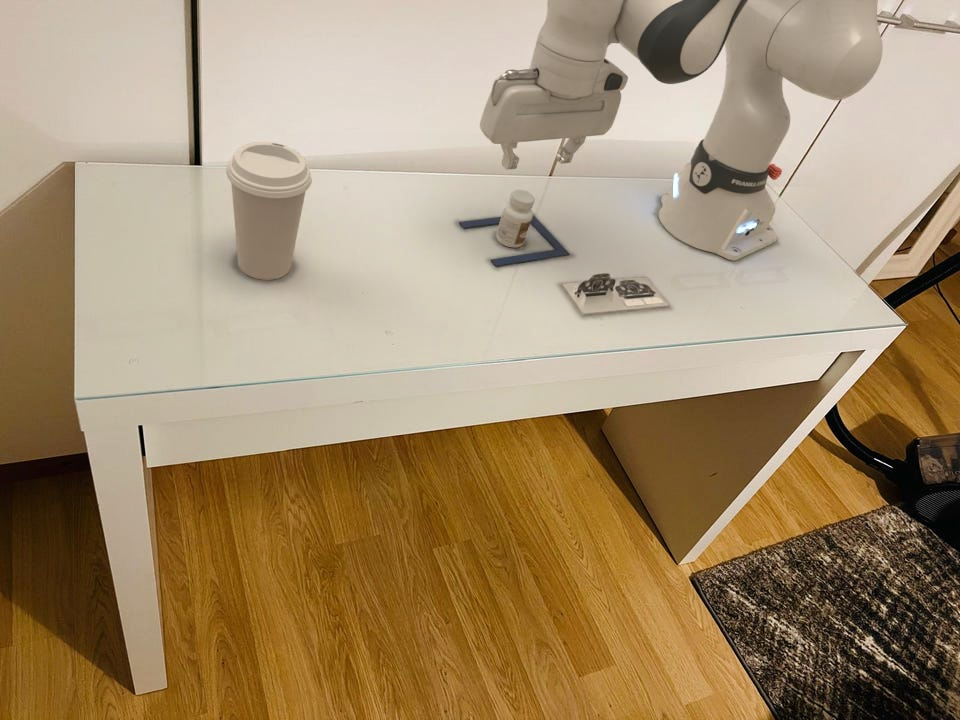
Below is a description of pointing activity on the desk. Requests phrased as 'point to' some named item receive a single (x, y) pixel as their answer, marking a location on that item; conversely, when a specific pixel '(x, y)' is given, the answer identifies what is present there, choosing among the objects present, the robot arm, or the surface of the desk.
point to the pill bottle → (515, 219)
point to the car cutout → (613, 295)
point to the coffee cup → (267, 206)
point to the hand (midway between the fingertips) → (536, 164)
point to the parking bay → (522, 258)
